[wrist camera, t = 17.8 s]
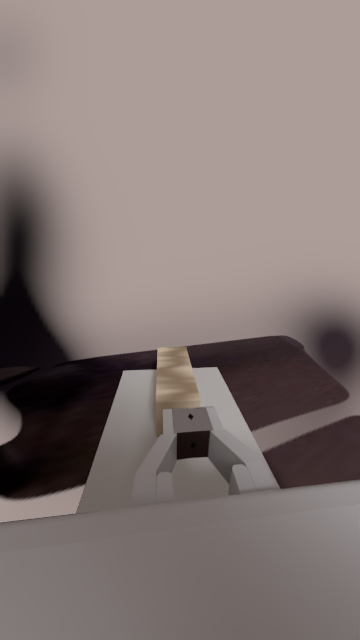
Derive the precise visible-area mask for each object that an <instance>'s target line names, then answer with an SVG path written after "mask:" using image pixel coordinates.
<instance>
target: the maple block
mask: <svg viewBox="0 0 360 640" xmlns="http://www.w3.org/2000/svg"><path fill="white" fill-rule="evenodd" d="M200 406H201V399H200V395H199V392H198V388H197V385H196V381H195V377H194V374H193V370H192V367H191V363H190V360H189V356H188V352H187V349H186V347H159V348H158V356H157V380H156V437H159V436H160V435H163V409H178V408H195V407H200Z"/></svg>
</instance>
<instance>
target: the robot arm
mask: <svg viewBox="0 0 360 640" xmlns="http://www.w3.org/2000/svg"><path fill="white" fill-rule="evenodd" d="M201 457H208V459H209V460H210V461H211V462H212V464H213V465H214V466H215V467H216V469H217V470H218V471H219V472H220V474H221V475H222V476H223V478H224V479H225V480H226V481H227V483H228V484H229V491H228V496H220V497H212V498H203V499H195V500H186V501H178V502H174V497H173V483H172V474H171V473H172V471H173V468H174V466H175V464H176V460H181V459H188V458H201ZM0 640H360V480H353V481H345V482H336V483H328V484H320V485H311V486H303V487H295V488H286V489H278V488H277V486H276V484H275V482H274V480H273V478H272V476H271V474H270V472H269V470H268V468H267V466H266V464H265V463H264V461H263V460H262V459H261V458H259V457H258V456H257V455H256V454H255V453H253V452H252V451H251V450H250V449H249V448H247V447H246V446H245V445H244V444H243V443H241V442H240V441H239V440H238V439H237V438H235V437H234V436H233V435H232V434H231V433H229V432H228V431H227V430H223V428H222V425H221V422H220V420H219V417H218V415H217V412H216V409H215V407H214V406H207V407H195V408H178V409H163V435H160V436H159V438H158V439H157V441H156V442H155V444H154V446H153V447H152V449H151V450H150V452H149V453H148V455H147V456H146V458H145V459H144V461H143V462H142V464H141V465H140V467H139V468H138V470H137V472H136V473H135V478H134V486H133V495H132V503H131V507H128V508H119V509H111V510H103V511H94V512H86V513H77V514H69V515H61V516H52V517H45V518H36V519H28V520H19V521H10V522H2V523H0Z"/></svg>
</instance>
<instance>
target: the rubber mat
mask: <svg viewBox="0 0 360 640" xmlns="http://www.w3.org/2000/svg"><path fill="white" fill-rule="evenodd" d="M192 370H193V374H194V377H195V381H196V385H197V388H198V392H199V395H200V399H201V406H200V407H207V406H214V407H215V409H216V412H217V415H218V417H219V420H220V422H221V425H222V428H223V430H227V431H228V432H229V433H231V434H232V435H233V436H234V437H235V438H237V439H238V440H239V441H240V442H241V443H243V444H244V445H245V446H246V447H247V448H249V449H250V450H251V451H252V452H253V453H255V454H256V455H257V456H258V457H259V458H261V459H262V460H263V461H264V463H265V464H266V466H267V468H268V470H269V472H270V474H271V476H272V478H273V480H274V482H275V484H276V486H277V488H278V489H280V487H279V485H278V484H277V482H276V480H275V478H274V476H273V474H272V472H271V470H270V468H269V466H268V464H267V462H266V460H265V459H264V457H263V455H262V453H261V451H260V449H259V447H258V445H257V443H256V441H255V440H254V438H253V435H252V434H251V432H250V430H249V428H248V426H247V424H246V422H245V420H244V418H243V416H242V414H241V412H240V410H239V408H238V407H237V405H236V403H235V401H234V399H233V397H232V395H231V393H230V391H229V389H228V387H227V385H226V383H225V382H224V380H223V378H222V376H221V374H220V372H219V370H218V368H217V367H213V368H192ZM156 380H157V370H131V371H124V372H123V375H122V377H121V380H120V383H119V386H118V389H117V392H116V395H115V398H114V401H113V404H112V407H111V410H110V413H109V416H108V419H107V422H106V425H105V428H104V431H103V434H102V437H101V440H100V443H99V446H98V449H97V452H96V455H95V458H94V461H93V464H92V467H91V470H90V473H89V476H88V479H87V482H86V485H85V488H84V491H83V494H82V497H81V500H80V503H79V506H78V509H77V512H76V514H77V513H86V512H94V511H103V510H111V509H119V508H128V507H131V503H132V495H133V486H134V478H135V473H136V472H137V470H138V468H139V467H140V465H141V464H142V462H143V461H144V459H145V458H146V456H147V455H148V453H149V452H150V450H151V449H152V447H153V446H154V444H155V442H156V441H157V439H158V438H159V437H156ZM171 474H172V483H173V497H174V502H178V501H186V500H195V499H203V498H212V497H220V496H228V491H229V484H228V483H227V481H226V480H225V479H224V478H223V476H222V475H221V474H220V472H219V471H218V470H217V469H216V467H215V466H214V465H213V464H212V462H211V461H210V460H209V459H208V457H201V458H188V459H181V460H176V464H175V466H174V468H173V471H172V473H171Z"/></svg>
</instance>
